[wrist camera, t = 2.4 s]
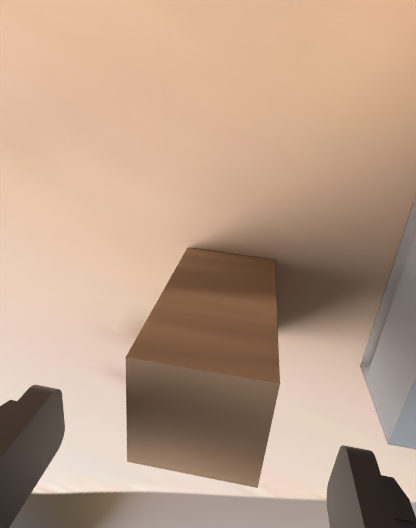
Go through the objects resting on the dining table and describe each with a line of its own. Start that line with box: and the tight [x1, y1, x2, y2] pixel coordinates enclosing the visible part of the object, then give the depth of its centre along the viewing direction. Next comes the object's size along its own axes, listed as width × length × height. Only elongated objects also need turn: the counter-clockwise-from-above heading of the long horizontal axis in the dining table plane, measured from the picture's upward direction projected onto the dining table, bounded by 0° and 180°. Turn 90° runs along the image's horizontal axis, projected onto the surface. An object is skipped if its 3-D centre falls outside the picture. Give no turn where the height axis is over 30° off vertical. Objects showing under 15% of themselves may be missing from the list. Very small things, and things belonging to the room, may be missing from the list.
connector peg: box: [126, 248, 280, 488], centre depth 14 cm, size 4×4×8 cm
